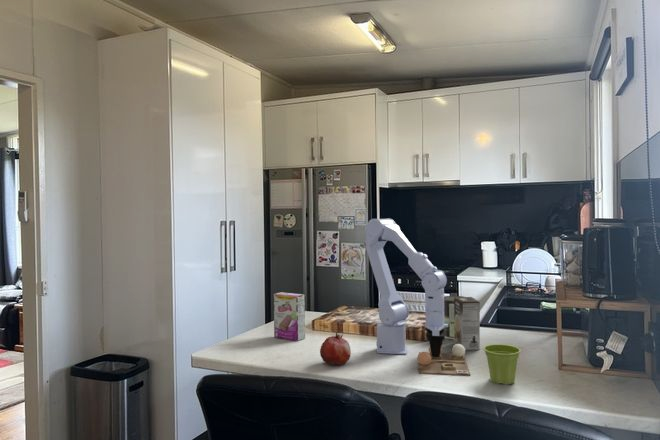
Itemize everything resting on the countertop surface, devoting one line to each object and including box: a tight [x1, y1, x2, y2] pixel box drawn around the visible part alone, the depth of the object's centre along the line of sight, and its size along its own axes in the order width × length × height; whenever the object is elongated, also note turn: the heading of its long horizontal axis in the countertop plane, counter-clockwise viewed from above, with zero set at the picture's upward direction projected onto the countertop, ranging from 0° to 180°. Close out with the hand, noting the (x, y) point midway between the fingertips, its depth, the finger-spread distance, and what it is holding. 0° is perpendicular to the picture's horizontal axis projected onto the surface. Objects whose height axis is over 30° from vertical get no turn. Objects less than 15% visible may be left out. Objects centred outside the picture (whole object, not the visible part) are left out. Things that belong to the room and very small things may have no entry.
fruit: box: [319, 331, 352, 367], centre depth 148 cm, size 9×10×10 cm
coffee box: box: [454, 296, 481, 351], centre depth 165 cm, size 9×6×16 cm
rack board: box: [417, 351, 471, 377], centre depth 146 cm, size 14×20×1 cm
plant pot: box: [483, 343, 522, 385], centre depth 131 cm, size 9×9×9 cm
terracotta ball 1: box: [417, 351, 431, 366], centre depth 143 cm, size 4×4×4 cm
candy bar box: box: [273, 291, 306, 342], centre depth 180 cm, size 11×5×16 cm, turn 58°
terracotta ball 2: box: [428, 345, 443, 355], centre depth 152 cm, size 4×4×4 cm
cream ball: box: [451, 343, 466, 357], centre depth 150 cm, size 4×4×4 cm
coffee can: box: [442, 295, 464, 341], centre depth 179 cm, size 10×10×14 cm
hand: (435, 353), depth 152 cm, fingers open, 6 cm apart
